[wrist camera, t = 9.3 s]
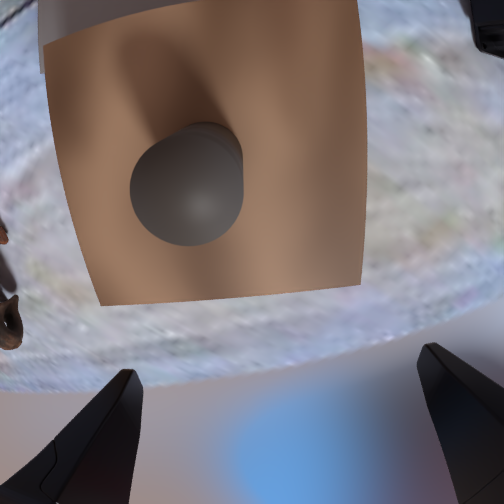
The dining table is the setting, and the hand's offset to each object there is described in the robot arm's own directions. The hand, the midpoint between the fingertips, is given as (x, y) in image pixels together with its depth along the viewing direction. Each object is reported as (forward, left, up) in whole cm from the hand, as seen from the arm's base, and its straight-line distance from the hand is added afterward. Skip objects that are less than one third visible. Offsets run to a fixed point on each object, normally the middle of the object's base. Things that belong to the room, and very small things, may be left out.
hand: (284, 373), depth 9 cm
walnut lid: (+2, -5, -8) cm, 10 cm away
